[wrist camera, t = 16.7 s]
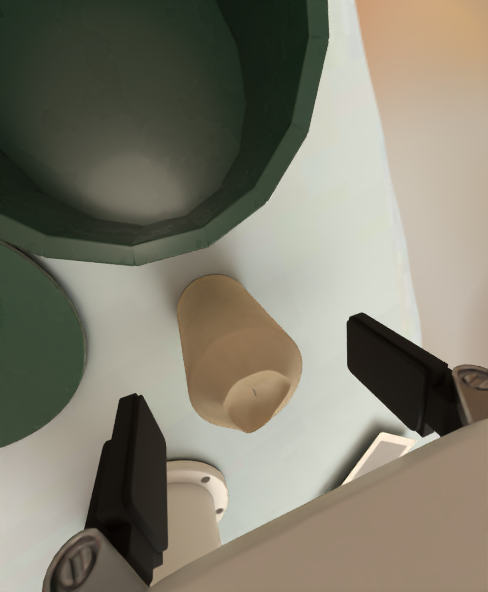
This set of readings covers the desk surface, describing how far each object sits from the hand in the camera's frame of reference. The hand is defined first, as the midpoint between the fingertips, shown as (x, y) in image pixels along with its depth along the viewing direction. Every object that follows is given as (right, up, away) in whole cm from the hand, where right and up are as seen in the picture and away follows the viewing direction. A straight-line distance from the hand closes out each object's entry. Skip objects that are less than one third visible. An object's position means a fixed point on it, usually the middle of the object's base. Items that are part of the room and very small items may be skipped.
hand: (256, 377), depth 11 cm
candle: (-3, +3, +8) cm, 9 cm away
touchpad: (+15, -20, +23) cm, 34 cm away
